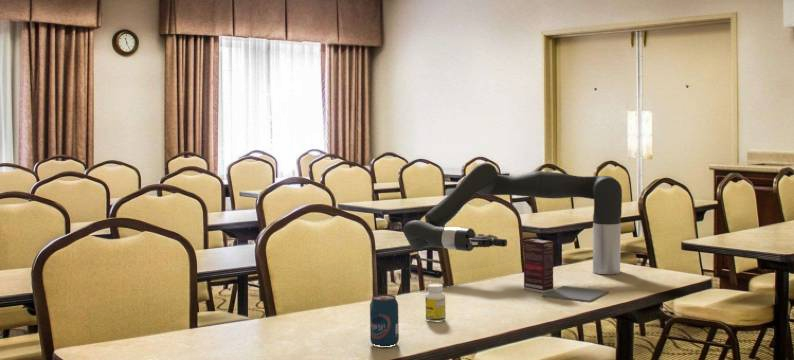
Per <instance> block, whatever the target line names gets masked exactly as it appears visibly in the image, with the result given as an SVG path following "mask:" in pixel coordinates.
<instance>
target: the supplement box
mask: <svg viewBox="0 0 794 360" xmlns="http://www.w3.org/2000/svg"><path fill="white" fill-rule="evenodd" d="M523 289H524V291H526V290H527V291H530V292H535V293H541V294H547V293H549V292H551V291H553V290H554V241H552V240H544V239H538V238H537V239H536V238H527V239H524V240H523Z"/></svg>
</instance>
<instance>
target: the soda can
mask: <svg viewBox="0 0 794 360" xmlns="http://www.w3.org/2000/svg"><path fill="white" fill-rule="evenodd" d="M369 320H370V321H369V326H370V327H369V329H370V333H369V334H370V339H369V340H370V342H371V344H372V345H373V344H375V345H380V346H390V345H394V344H396V345H398V342H399V337H400V335H399V332H400V331H399V327H400V326H399V302H398V301H397V297H396V296H395V295H392V294H377V295H373V296H372V297H371V301H370V303H369Z"/></svg>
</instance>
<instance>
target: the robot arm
mask: <svg viewBox="0 0 794 360" xmlns="http://www.w3.org/2000/svg"><path fill="white" fill-rule="evenodd" d="M476 194H478V195H480V196H519V197H529V198H530V197H531V198H537V199H539V198H541V199H568V198H569V199H570V198H582V199H590V200H593V215H592V273H594V274H599V275H600V274H601V275H617V274H620V273H621V222H622V221H621V220H622V219H621V217H622V211H623V210H622V209H623V202H622V201H623V189H622V185H621V184H620V181H618V180H617V179H616V178H614V177H613V176H609V175H599V176H598V175H597V176H595V175H593V176H581V175H573V174H567V173H562V172H553V171H542V170H541V171H540V170H534V171H528V172H525V173H521V174H515V175H504V174H503V175H502V174H498V171H497V167H496V166H495V165H493V164H491V163H490V162H482V163H478V164H476V166H474V167H473V169H472V170H471V171H470V172H469V173H468V174H467V176H466V177H465V178H464V179H463V180H462V181H461V182H460V183H459V185H457V186H456V187H455V189H453V190H452V191H451V192H450V193H449V194H448V195H447V196H446V197H445V198H443V199H442V200H441V201H440V202H438V203H437V204H436V205H434V207H432V208H431V209H430V210H429V211H427V212H426V214H425V215H424V219H425V221H424V220H419V219H418V220H416V219H414V220H410V221H408V222H406V223H405V224H404V226H403V229H402V230H403V231H402V232H403V235H404V237H405V238H406V240H407V241H408V244H409V246H410V248H411V249H413V250H417V251H419V250H422V249H424V248H426V247H428V246H429V245H430V246H431V247H433V248H437V249H438V248H439V249H448V250H452V251H463V252H471V251H473V250H474V248H490V247H501V248H502V247H504V248H505V247H507V246H508V240H507V239H506V238H499V237H498V236H496V235H492V234H486V235H485V234H484V233H483V234H482V233H477V234H476V232H475V229H473V228H469V227H459V226H458V227H457V226H449V227H448V226H446V224H447V223H449V222H450V221H452V219H453V218H455V216H456V215H457V214H458V213H459V212H460V211H461V210H462V208H463V207H464V206H465V205H466V203H467V202H468V201H469V200H470V199H471V198H472V197H473V196H475V195H476Z"/></svg>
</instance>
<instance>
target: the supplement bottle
mask: <svg viewBox="0 0 794 360" xmlns="http://www.w3.org/2000/svg"><path fill="white" fill-rule="evenodd" d="M443 290H444V289H443V284H441V283H431V284H428V285H427V291H428V292H426V294H425V320H426V321H427V320H429V321H443V320H445V321H446V316H447V315H446V294H445V292H442V291H443ZM443 322H444V321H443Z"/></svg>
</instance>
